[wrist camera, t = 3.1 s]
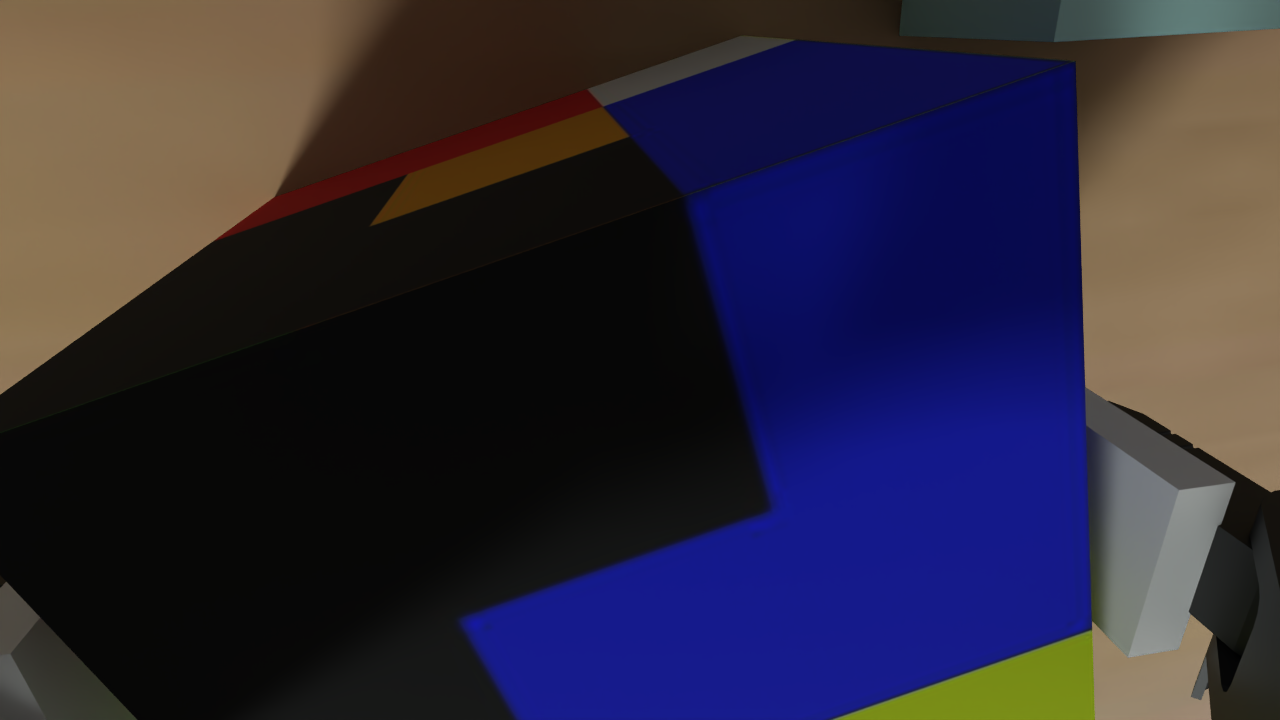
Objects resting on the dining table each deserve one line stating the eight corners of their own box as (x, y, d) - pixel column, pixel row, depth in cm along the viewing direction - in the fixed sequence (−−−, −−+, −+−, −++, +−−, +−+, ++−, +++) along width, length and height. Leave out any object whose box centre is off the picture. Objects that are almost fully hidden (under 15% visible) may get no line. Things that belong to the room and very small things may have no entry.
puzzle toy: (741, 35, 15) (1075, 60, 6) (829, 431, 19) (1096, 791, 10) (275, 196, 15) (-102, 468, 6) (470, 555, 19) (425, 1024, 10)
